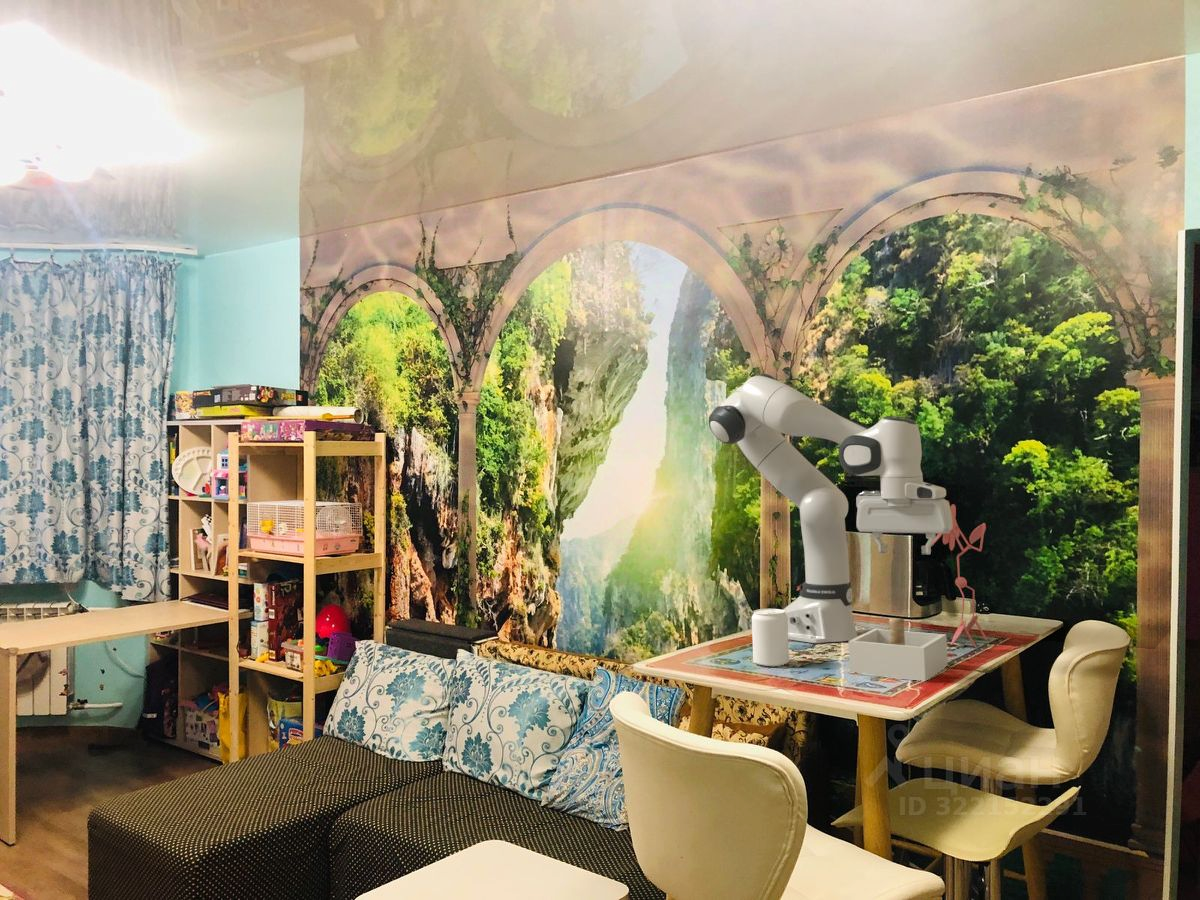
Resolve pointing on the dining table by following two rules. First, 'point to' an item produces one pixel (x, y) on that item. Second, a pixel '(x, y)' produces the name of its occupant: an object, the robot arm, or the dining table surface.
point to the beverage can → (770, 637)
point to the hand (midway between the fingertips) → (904, 553)
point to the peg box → (898, 654)
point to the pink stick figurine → (959, 581)
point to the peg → (897, 631)
